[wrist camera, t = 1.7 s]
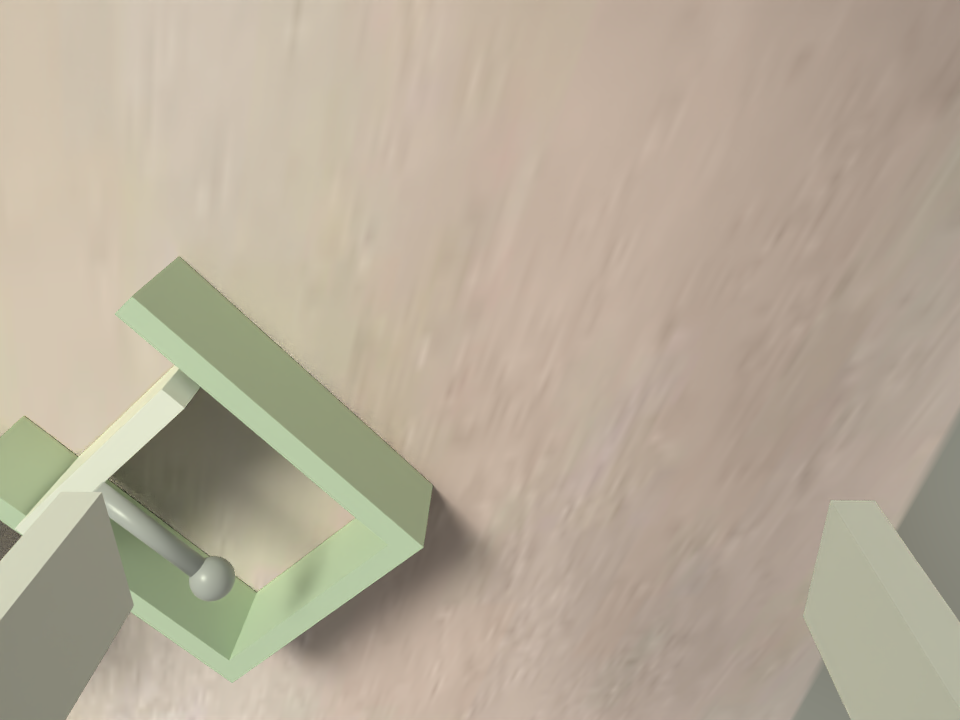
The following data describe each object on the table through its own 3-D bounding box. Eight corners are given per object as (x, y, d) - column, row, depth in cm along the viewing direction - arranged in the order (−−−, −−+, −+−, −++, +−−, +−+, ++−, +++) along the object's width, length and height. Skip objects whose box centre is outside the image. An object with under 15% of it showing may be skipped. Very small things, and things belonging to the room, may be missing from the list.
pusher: (79, 455, 41) (-11, 556, 34) (211, 329, 37) (142, 412, 30) (206, 552, 43) (147, 664, 36) (340, 442, 40) (304, 543, 33)
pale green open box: (11, 428, 40) (-51, 484, 36) (178, 256, 36) (131, 296, 31) (259, 614, 46) (232, 683, 41) (432, 485, 41) (423, 547, 37)
